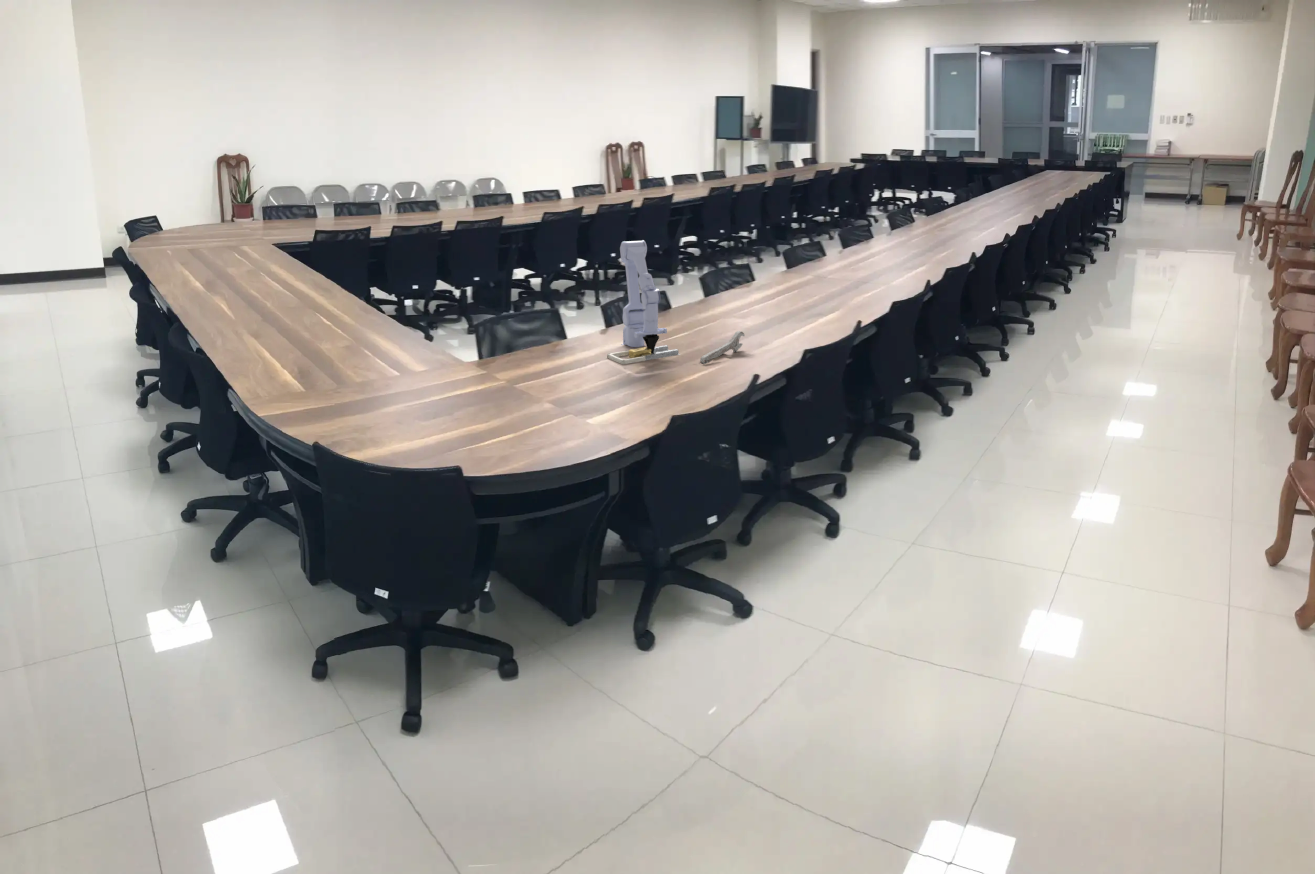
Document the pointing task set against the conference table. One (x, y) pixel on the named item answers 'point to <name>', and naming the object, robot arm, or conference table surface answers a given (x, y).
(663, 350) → the slot board
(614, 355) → the grey rectangular frame
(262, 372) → the conference table surface
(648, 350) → the chip
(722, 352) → the wrench
